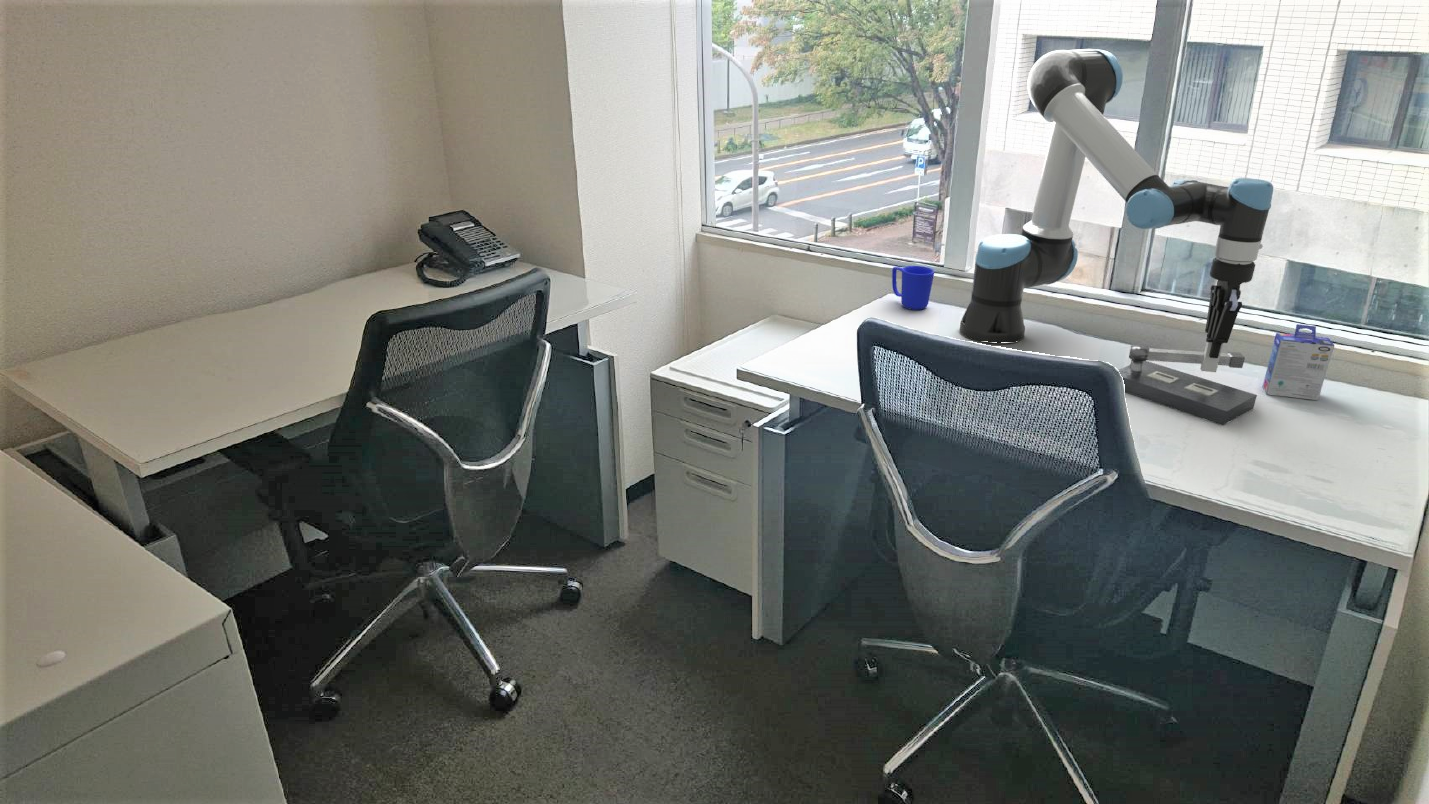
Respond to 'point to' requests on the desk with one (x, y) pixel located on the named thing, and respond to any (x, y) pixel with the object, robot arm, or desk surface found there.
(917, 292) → the mug
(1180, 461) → the desk surface
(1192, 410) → the slab
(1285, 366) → the ink cartridge box
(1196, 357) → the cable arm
